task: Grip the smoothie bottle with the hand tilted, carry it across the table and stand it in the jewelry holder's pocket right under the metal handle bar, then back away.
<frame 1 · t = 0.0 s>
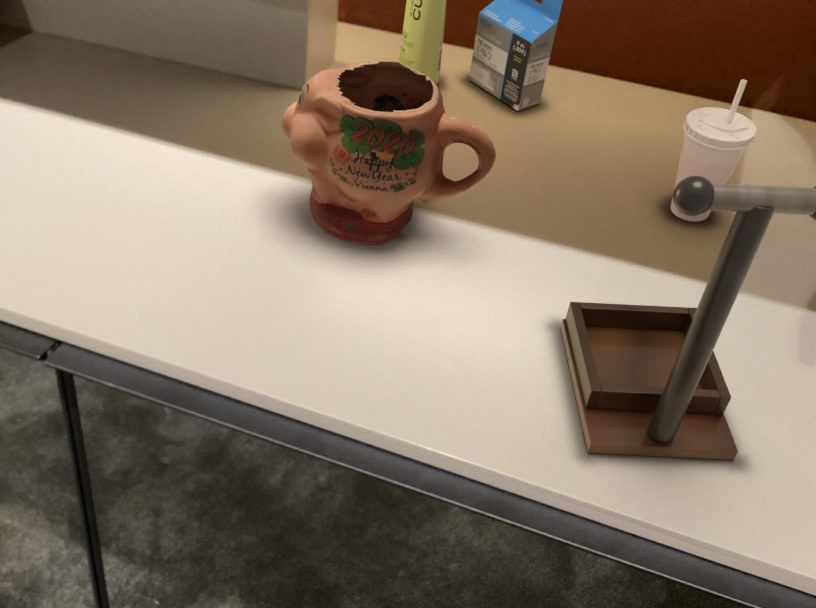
decorative planter: (377, 220, 94), on the table
tube: (417, 81, 114), on the table
jewelry holder: (641, 389, 78), on the table
blue grey carton: (503, 93, 113), on the table
smoothie: (688, 212, 96), on the table
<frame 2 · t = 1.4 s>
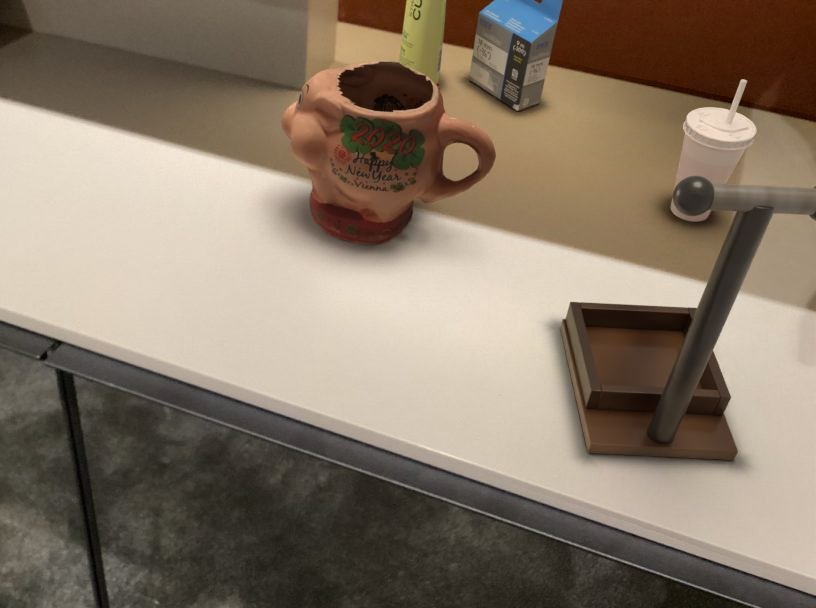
nothing on the table moved.
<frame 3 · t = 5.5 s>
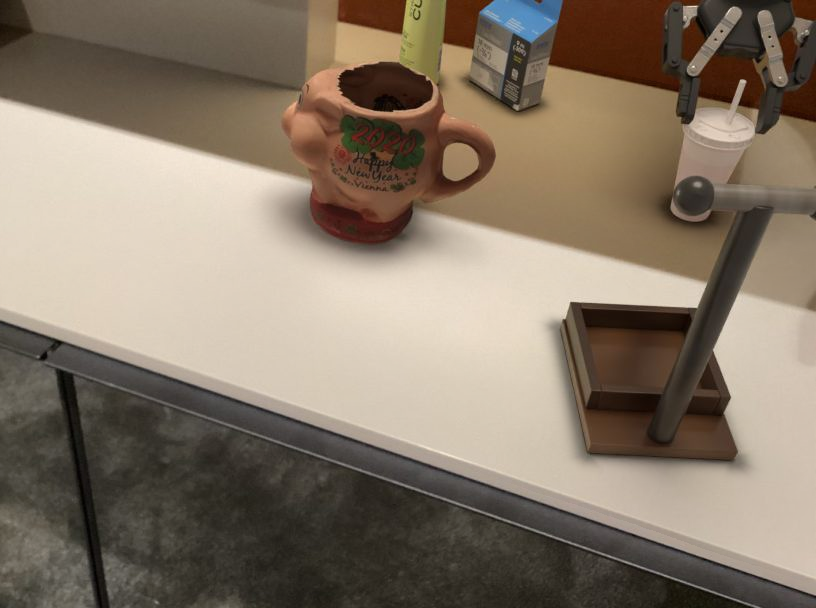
hand: (724, 126, 88), 10 cm above the table, tool tilted 45°, fingers closed on smoothie, 6 cm apart
smoothie: (688, 212, 96), on the table, touching gripper
everything else where it was.
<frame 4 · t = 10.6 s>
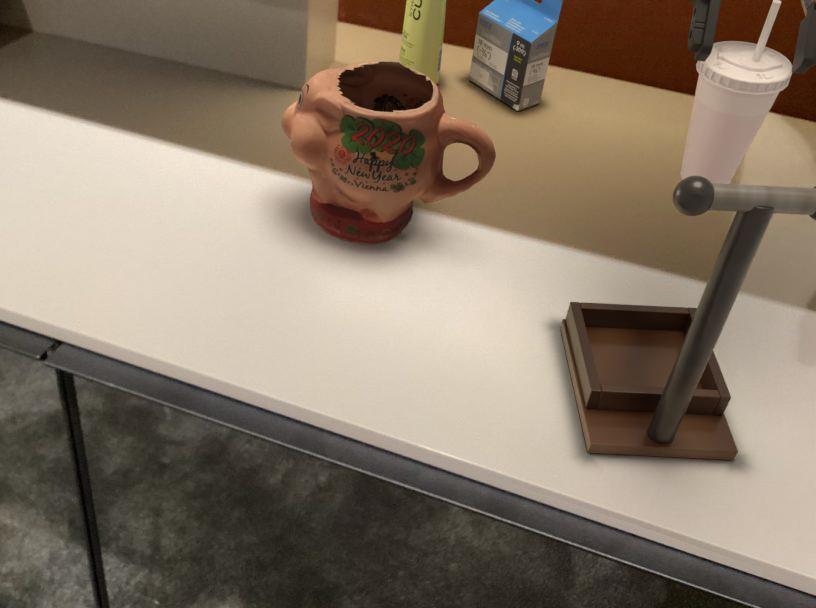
hand: (752, 62, 66), 24 cm above the table, tool tilted 45°, fingers closed on smoothie, 6 cm apart
smoothie: (703, 179, 75), point 14 cm above the table, touching gripper
everything else where it was.
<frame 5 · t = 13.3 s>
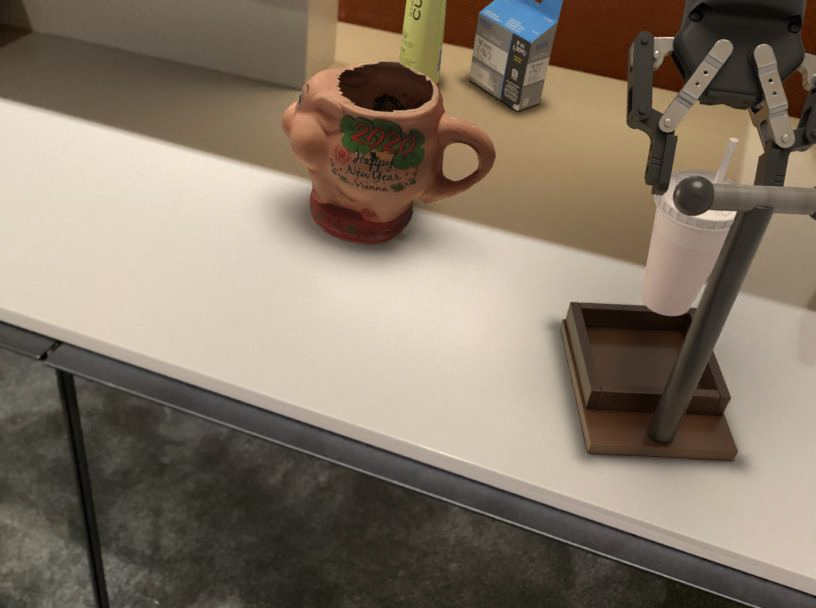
hand: (709, 199, 65), 18 cm above the table, tool tilted 45°, fingers closed on smoothie, 6 cm apart
smoothie: (664, 302, 74), point 7 cm above the table, touching gripper
everything else where it was.
when the fingers open (11 cm above the table, at t = 15.7 s): smoothie stays where it is, resting on jewelry holder.
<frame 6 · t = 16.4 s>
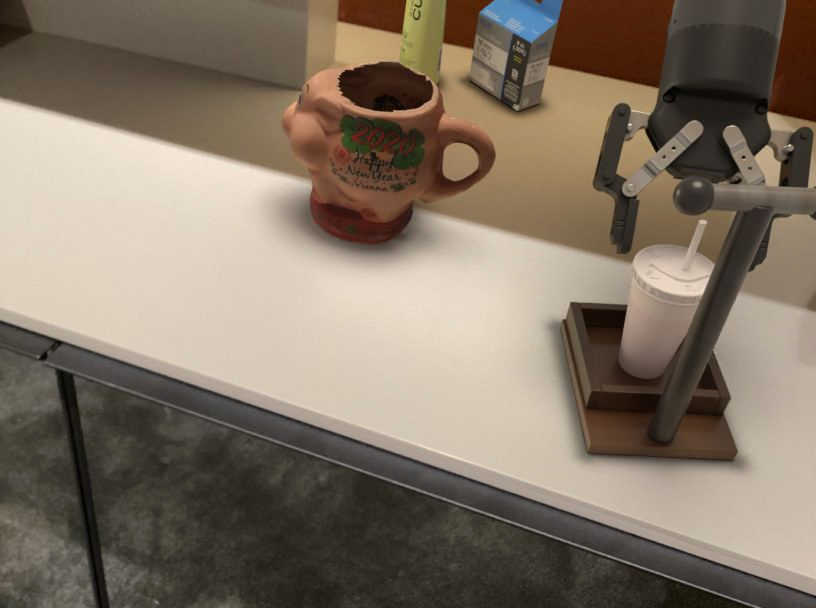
hand: (683, 261, 69), 12 cm above the table, tool tilted 45°, fingers open, 8 cm apart
smoothie: (640, 364, 79), point 1 cm above the table, touching jewelry holder
everything else where it was.
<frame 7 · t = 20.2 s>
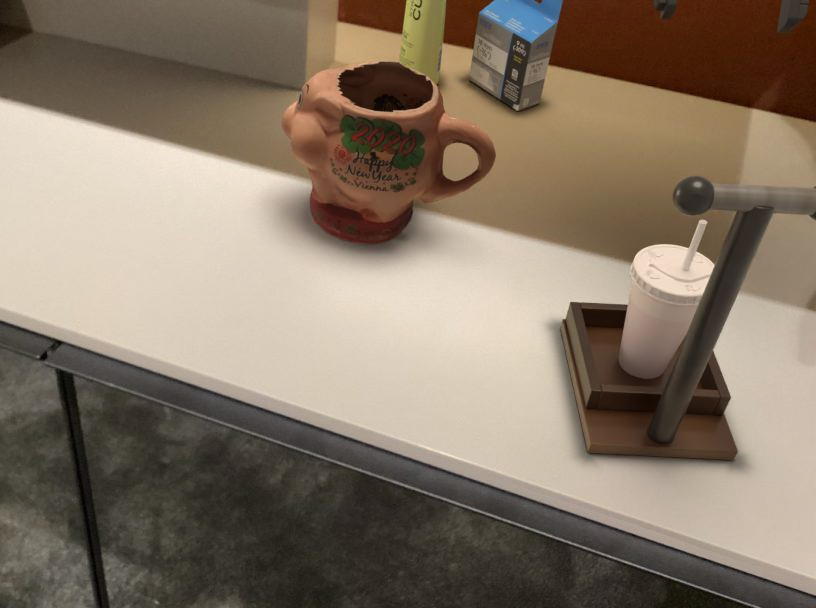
hand: (726, 22, 71), 24 cm above the table, tool tilted 45°, fingers open, 8 cm apart
nothing on the table moved.
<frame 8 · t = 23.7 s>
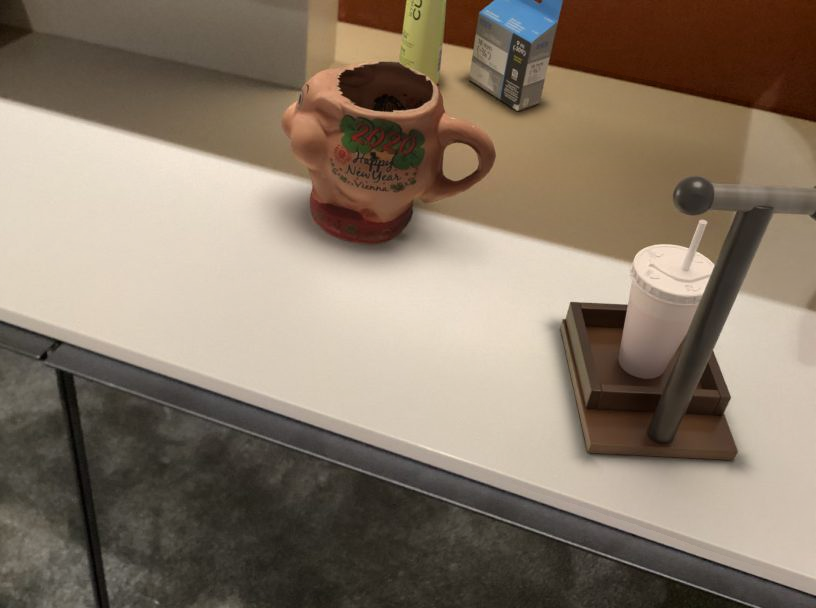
nothing on the table moved.
at the end: smoothie 0.4 cm from the target spot on the jewelry holder, point 0.8 cm above the jewelry holder's base; smoothie tilted 0°; the gripper is holding nothing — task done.
